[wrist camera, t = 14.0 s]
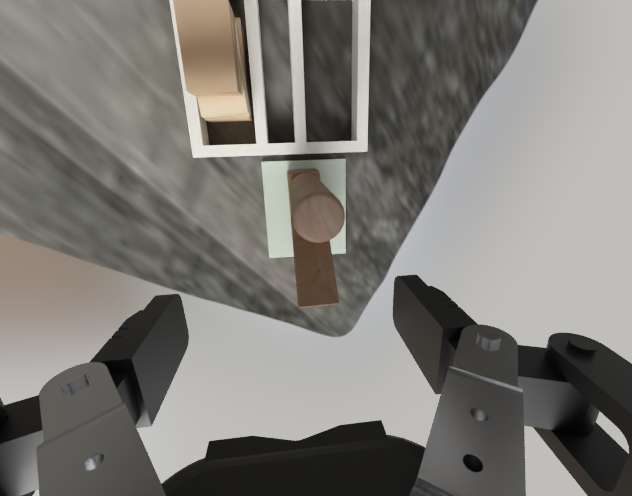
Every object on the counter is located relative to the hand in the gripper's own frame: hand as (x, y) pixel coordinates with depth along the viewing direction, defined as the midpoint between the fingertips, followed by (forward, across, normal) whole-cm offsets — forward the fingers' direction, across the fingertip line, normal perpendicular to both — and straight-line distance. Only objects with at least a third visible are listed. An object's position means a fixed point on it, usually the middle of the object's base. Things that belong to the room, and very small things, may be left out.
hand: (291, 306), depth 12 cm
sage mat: (+28, -2, +2) cm, 28 cm away
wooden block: (+28, -2, +3) cm, 28 cm away
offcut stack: (+28, +5, -13) cm, 32 cm away
